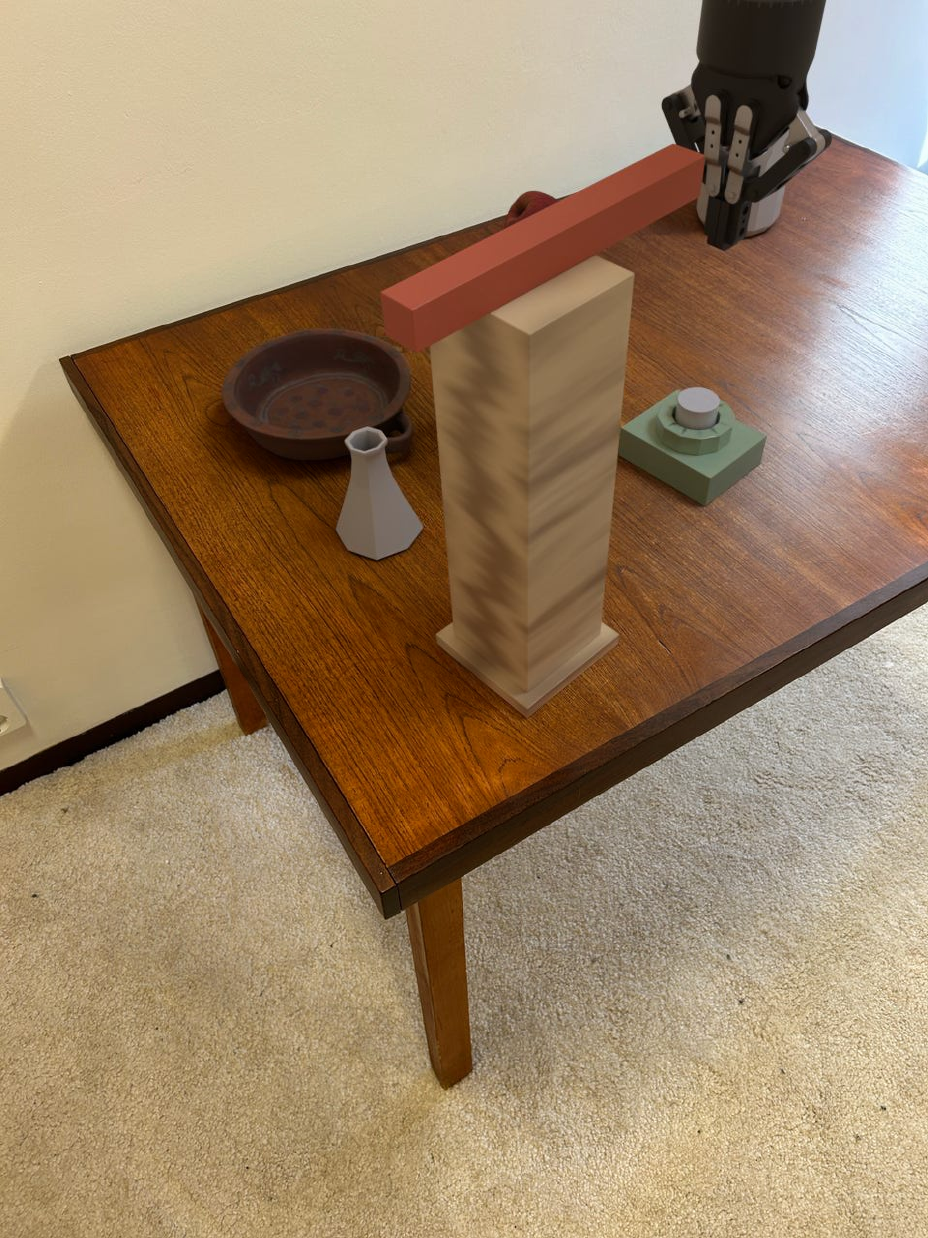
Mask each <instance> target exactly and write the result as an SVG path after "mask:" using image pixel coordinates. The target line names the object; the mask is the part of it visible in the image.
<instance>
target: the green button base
mask: <svg viewBox="0 0 928 1238" xmlns="http://www.w3.org/2000/svg"><path fill="white" fill-rule="evenodd" d="M682 391H683V390H681V389H676V390H674V391H673V392H671V393H670V394H668V395H666V397H663V398H662V399H661V400H660V401H658V402H656V403H655V404H654V405H652V406H651V407H649V408H647V409H646V410H645V411H643V412H642V413H640V414H638V415H637V416H635V417H634V418H633V419H632V420H630V421H628V422H627V423H626V424H623V426H620V434H619V445H618V455H617V456H619V457H621V458H623V459H624V460H626V461H627V462H629V463H631V464H633V465H634V466H636V467H638V468H639V469H641V470H643V471H644V472H646V473H647V474H650V475H651V476H653V477H654V478H656V479H658V480H659V481H662V482H663V483H664V484H666V485H668V486H670V487H672V489H675V490H677V491H678V492H679V493H682V494H684V495H685V496H686V497H688V498H690V499H692V500H693V501H695V502H697V503H699V504H700V505H702V506H704V507H706V506H708V505H709V504H710V503H711V502H712V501H714V500H716V499H717V498H718V497H719V496H720V495H722V494H723V493H725V492H726V491H727V490H728V489H730V488H731V487H733V485H735V484H737V483H738V482H739V481H740V480H741V479H743V478H744V477H745V476H746V475H748V474H749V473H750V472H751V471H753V470H754V469H755V468H757V467H758V466H759V465H761V462H762V459H763V454H764V451H765V446H766V441H767V438H768V436H767V434H764V432H760V431H759V430H757V429H755V428H754V427H752V426H749V425H748V424H745V423H744V422H741V421H740V420H737V419H736V418H735V416H736V415H735V412H734V411H733V410H732V408H731V407H730V406H729V404H728V403H727V402H726V401H724V400H722V399H720V404H719V409H718V415H717V420H716V423H715V425H714V426H713V427H711V428H710V429H705V430H692V429H686V428H684V427H682V426H680V425H678V424H677V422H676V421H675V412H676V405H677V398H678V395H679V394H680V392H682Z"/></svg>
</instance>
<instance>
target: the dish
mask: <svg viewBox="0 0 928 1238" xmlns="http://www.w3.org/2000/svg"><path fill="white" fill-rule="evenodd" d="M411 385H412V374H411V369H410V366H409V364H408V361H407V358H405V356H404V355H403V354H402V353H401V351H400V350H399V349H397V348H396V347H394V346H393V345H392V344H391V343H389V342H387V341H385V340H383V339H381V338H379V337H377V336H374V335H371V334H368V333H365V332H359V331H356V330H350V329H343V328H342V329H341V328H311V329H304V330H297V331H293V332H290V333H287V334H284V335H281V336H277V337H275V338H272V339H270V340H268V341H265V342H263V343H261V344H257V345H256V346H254V347H252V348H250V349H248V350H247V351H246V352H245V353H244V354H242V356H240V358H238V359H237V360H236V361H235V363H234V364H233V365H232V366H231V367H230V369H229V370H228V371H227V374H226V375H225V378H224V380H223V385H222V387H221V399H222V403H223V406H224V408H226V409H225V410H226V411H227V413H228V415H230V416H231V417H232V419H234V420H235V421H236V422H237V423H238V424H240V425H242V427H243V428H244V430H246V432H247V433H248V434H249V435H250V437H251V438H252V439H253V440H254V441H255V442H256V443H258V444H259V445H260V447H262V448H264V449H265V450H266V451H268V452H271V453H272V454H274V455H276V456H279V457H282V458H285V459H288V460H289V459H290V460H295V461H320V460H322V461H323V460H332V459H336V458H340V457H344V456H348V455H351V452H350V450H349V449H348V447H347V446H346V444H345V440H346V439H347V437H348V436H349V435H350V434H351V433H352V432H353V431H356V430H359V429H362V428H365V427H371V428H374V429H378V430H381V431H382V433H383V434H384V435H385V437H386V436H387V435H388V434H389V433H391V432H394V431H395V432H399V433H401V434H400V435H399V436H392V437H391V436H390V437H389V436H388V437H386V438H387V441H388V442H387V445H386V446H385V454H386V455H396V454H401V453H403V452H405V451H407V450H408V449H410V447H411V446H412V444H413V438H414V430H415V429H414V424H413V422H412V420H411V418H410V417H409V416H408V414H406V413H405V412H404V409H403V407H404V405H405V403H406V401H407V400H408V398H409V396H410V392H411V389H412V388H411V387H412V386H411Z"/></svg>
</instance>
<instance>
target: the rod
mask: <svg viewBox="0 0 928 1238" xmlns="http://www.w3.org/2000/svg"><path fill="white" fill-rule="evenodd" d="M704 164H705V155H703V154H701V153H700V152H699V151H698V152H695V151H692V150H690V149H687V148H684V147H681V146H679V145H676V143H671V144H669V145H667V146H665V147H663V148H661V149H659V150H657V151H655V152H654V153H650V154H649V155H647V156H646V157H643V158H641V159H639V160H638V161H635V162H634V163H632V164H629V165H628V166H625V167H623V168H622V169H620V170H618V171H616V172H614V173H612V174H610V175H608V176H606V177H604V178H602V179H600V180H598V181H596V182H594V183H591V184H590V185H588V186H586V187H585V188H582V189H581V190H578V191H577V192H575V193H572V194H571V195H569V196H567V197H565V198H562V199H561V200H558V201H559V202H557V203H555V204H553V205H551V206H549V207H547V208H545V209H543V210H541V211H539V212H537V213H535V214H533V215H531V216H529V217H527V218H525V219H523V220H521V221H519V222H517V223H515V224H513V225H511V226H510V227H508V228H506V229H504V228H503V229H502V230H500V231H498V232H496V233H494V234H491V235H490V236H488V237H486V238H484V239H481V240H480V241H478V242H476V243H474V244H472V245H470V246H468V247H466V248H464V249H462V250H461V251H458V252H456V253H455V254H453V255H450V256H449V257H446V258H445V259H442V260H440V261H439V262H437V263H435V264H433V265H431V266H429V267H427V268H425V269H422V270H421V271H419V272H417V273H415V274H413V275H411V276H410V277H408V278H405V279H403V280H401V281H400V282H397V283H395V284H393V285H392V286H390V287H388V288H385V289H384V290H382V291H380V292H379V293H380V300H381V311H382V318H383V326H384V327H383V328H384V335H385V336H386V337H388V338H389V339H391V340H393V341H394V342H396V343H398V344H399V345H401V346H403V347H404V348H406V349H407V350H409V351H411V352H412V353H414V354H418V353H420V352H422V351H423V350H425V349H427V348H430V346H431V345H433V344H434V343H436V342H438V341H440V340H442V339H443V338H445V337H447V336H449V335H451V334H452V333H454V332H456V331H458V330H460V329H462V328H463V327H465V326H467V325H469V324H471V323H472V322H474V321H476V320H478V319H480V318H481V317H483V316H485V315H487V314H489V313H490V312H492V311H494V310H496V309H498V308H499V307H501V306H503V305H505V304H507V303H508V302H510V301H512V300H514V299H516V298H517V297H519V296H521V295H523V294H525V293H526V292H528V291H530V290H532V289H534V288H535V287H537V286H539V285H541V284H543V283H545V282H546V281H548V280H550V279H552V278H554V277H555V276H557V275H559V274H561V273H563V272H564V271H566V270H568V269H570V268H572V267H573V266H575V265H577V264H579V263H581V262H582V261H584V260H586V259H588V258H590V257H591V256H593V255H597V254H598V253H600V252H602V251H604V250H606V249H608V248H609V247H611V246H613V245H615V244H617V243H618V242H621V241H622V240H624V239H625V238H628V237H630V236H631V235H633V234H635V233H637V232H638V231H640V230H642V229H644V228H646V227H648V226H649V225H651V224H653V223H655V222H656V221H658V220H660V219H662V218H664V217H666V216H667V215H669V214H671V213H673V212H674V211H677V210H678V209H680V208H682V207H683V206H685V205H687V204H689V203H691V202H692V201H694V200H697V199H698V197H699V196H700V192H701V185H702V178H703V171H704Z"/></svg>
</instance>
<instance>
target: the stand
mask: <svg viewBox="0 0 928 1238" xmlns="http://www.w3.org/2000/svg"><path fill="white" fill-rule="evenodd" d="M635 276H636V274H635V272H634V271H631V270H629V269H627V268H624V267H623V266H620V265H618V264H616V263H614V262H612V261H609V260H607V259H605V258H603V257H601V256H599V255H597V254H595V255H593V256H591V257H590V258H588V259H586V260H584V261H582V262H581V263H579V264H577V265H575V266H573V267H572V268H570V269H568V270H566V271H564V272H563V273H561V274H559V275H557V276H555V277H554V278H552V279H550V280H548V281H546V282H545V283H543V284H541V285H539V286H537V287H535V288H534V289H532V290H530V291H528V292H526V293H525V294H523V295H521V296H519V297H517V298H516V299H514V300H512V301H510V302H508V303H507V304H505V305H503V306H501V307H499V308H498V309H496V310H494V311H492V312H490V313H489V314H487V315H485V316H483V317H481V318H480V319H478V320H476V321H474V322H472V323H471V324H469V325H467V326H465V327H463V328H462V329H460V330H458V331H456V332H454V333H452V334H451V335H449V336H447V337H445V338H443V339H442V340H440V341H438V342H436V343H434V344H433V345H431V346H429V351H430V353H429V354H430V367H431V377H432V379H431V380H432V391H433V402H434V411H435V412H434V414H435V425H436V426H435V427H436V436H437V450H438V461H439V462H438V463H439V473H440V487H441V497H442V508H443V509H442V511H443V519H444V532H445V544H446V545H445V546H446V555H447V566H448V569H447V570H448V580H449V581H448V582H449V591H450V592H449V593H450V605H451V616H452V617H451V618H452V621H451V622H450V623H448V625H446V626H444V628H442V629H441V630H439V631H437V632H436V633H435V642H436V645H437V646H439V647H440V648H441V649H442V650H443V651H444V652H446V653H447V654H448V655H450V656H451V657H452V658H453V659H454V660H455V661H457V662H458V663H459V664H460V665H462V666H463V667H464V668H465V669H467V670H468V671H469V672H470V673H471V674H472V675H474V676H475V677H476V678H478V679H479V680H480V681H481V682H482V683H484V685H486V686H487V687H488V688H489V689H491V690H492V691H493V692H494V693H496V694H497V695H498V696H499V697H500V698H501V699H503V700H504V701H506V703H508V704H509V705H510V706H511V707H512V708H514V709H515V710H516V711H517V712H519V714H521V715H522V716H523V717H524V718H526V719H528V718H529V717H530V716H532V715H533V714H534V713H536V712H537V711H538V710H540V709H541V708H542V707H543V706H544V705H545V704H547V703H548V702H549V701H551V700H552V699H553V698H554V697H555V696H557V694H559V693H560V692H562V691H563V690H564V689H565V688H566V687H567V686H569V685H570V684H571V683H573V682H574V681H575V680H576V679H577V678H579V677H580V676H581V675H582V674H583V673H584V672H586V671H587V670H588V669H589V668H591V667H592V666H593V665H594V664H596V663H597V662H598V661H599V660H601V659H602V658H603V657H605V656H606V655H607V654H608V653H609V652H611V651H612V650H613V649H614V648H616V646H618V644H619V640H620V634H619V633H618V632H617V631H615V630H614V629H613V628H612V627H610V626H608V625H607V624H606V623H604V622H603V612H604V601H605V592H606V581H607V569H608V559H609V550H610V549H609V548H610V541H611V539H610V538H611V528H612V517H613V507H614V497H615V496H614V495H615V485H616V477H617V476H616V475H617V464H618V456H619V455H618V454H619V443H620V433H621V422H622V412H623V402H624V401H623V400H624V392H625V391H624V390H625V381H626V371H627V360H628V358H627V357H628V348H629V337H630V327H631V317H632V306H633V296H634V286H635Z"/></svg>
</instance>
